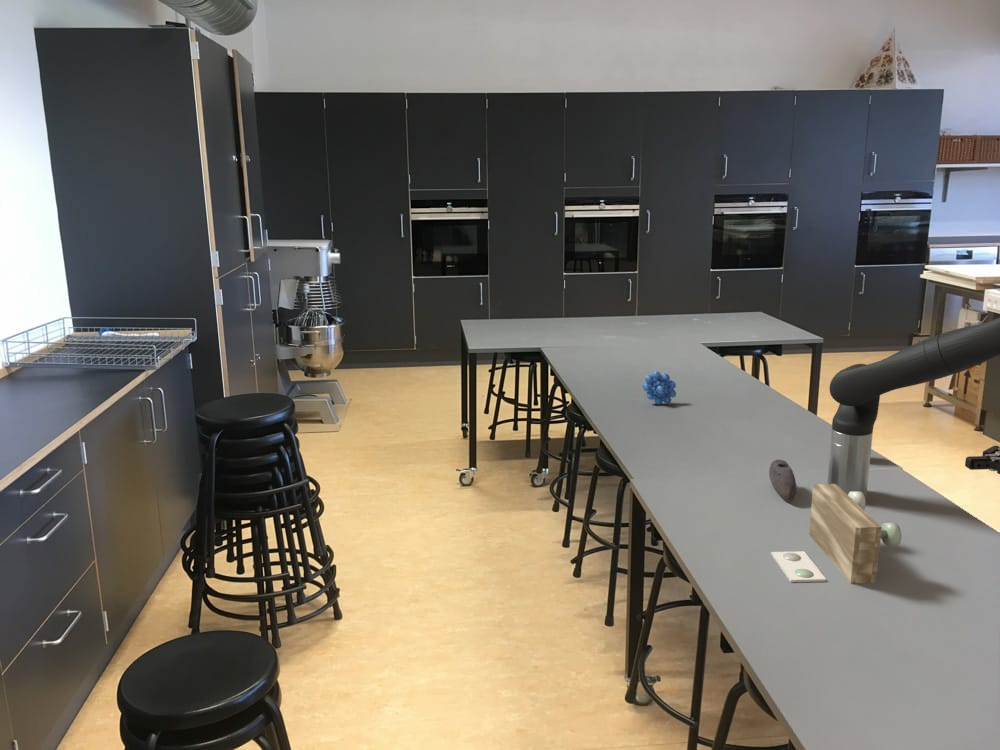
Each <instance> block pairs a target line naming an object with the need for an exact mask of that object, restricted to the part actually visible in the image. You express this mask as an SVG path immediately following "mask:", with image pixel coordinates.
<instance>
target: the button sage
mask: <svg viewBox="0 0 1000 750" xmlns="http://www.w3.org/2000/svg"><path fill="white" fill-rule="evenodd" d="M880 526H881V527H882V528H881V538H880V539H881V540H882V542H883V544H884V545H885V546H899V545H900V544H901V542H902V532H901V531H902V530H901V528H900V526H899V524H898V523H897V522H884V523H882V524H881V525H880Z"/></svg>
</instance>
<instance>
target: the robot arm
mask: <svg viewBox="0 0 1000 750" xmlns="http://www.w3.org/2000/svg"><path fill="white" fill-rule="evenodd" d="M999 356H1000V316H999V317H998V318H995V319H992V320H990V321H987V322H984V323H983V322H982V323H980V324H979V323H978V324H975V325H970V326H969V325H968V326H964V327H960V328H956V329H952V330H949V331H946V332H942V333H939V334H937V335H934V336H932V337H929V338H925V339H923V340H921V341H918V342H916V343H914V344H912V345H910V346H907V347H905V348H903V349H901V350H899V351H898V352H896V353H894V354H892V355H890V356H888V357H885V358H883V359H881V360H878V361H876V362H872V363H868V364H866V363H855V364H852V365H850V366H847V367H845V368H843V369H841V370H840V371H838V372H837V373H836V374H835V375H833V378H831V380H830V384H829V394H830V396H831V397H832V399H833V400H834V401H835V402H837V404H839V405H838V408H837V410H836V412H835V413H834V416H833V417H832V423H831V432H830V433H831V434H830V447H829V458H828V470H827V471H828V472H827V480H826V481H827V482H826V484H837V485H838V486H839V487H840V488H841V489H842V490H843V491H844V492H845V493H846V494H847V495H848V494H849V492H854V491H861V492H862V493H863V494H864V497H865V500H867V495H868V485H869V476H870V465H871V464H870V463H871V456H872V455H871V454H872V446H873V444H872V442H873V432H874V426H875V422H876V421H877V419H878V418H877V417H878V413H879V405H880V399H881V396H882V395H884V394H886V393H889V392H891V391H895V390H899V389H902V388H903V389H904V388H907V387H908V388H909V387H912V386H917V385H921V384H924V383H929V382H932V381H936V380H939V379H942V378H947V377H949V376H953V375H955V374H956V375H957V374H959V373H961V372H963V371H967V370H969V369H973V368H974V367H977V366H979V365H981V364H984V363H986V362H988V361H990V360H992V359H994V358H996V357H999ZM964 467H966V469H969V470H971V471H973V470H974V471H975V470H989V471H990V472H996V473H997V474H998V475H1000V446H999V445H993V446H990V447H989V448H987V449H985V450H983V451H982V455H979V456H977V455H976V456H975V455H973V456H971V455H970V456H966V458H965V462H964Z"/></svg>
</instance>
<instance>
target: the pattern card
mask: <svg viewBox="0 0 1000 750" xmlns="http://www.w3.org/2000/svg"><path fill="white" fill-rule="evenodd" d="M770 555H771V556H772V557H773V560H774V561H775V562H776V563H777V565H778V566H779V568H780V570H782V572H783V573H784V575H785V576H786V577H787V580H789V582H790V583H810V582H811V583H813V582H815V583H816V582H819V583H820V582H821V583H822V582H827V578H826V577H825V576H824V574H822V571H820V570H819V568H818V567H817V565H816V564H815V563H814V562H813V561H812V559H811V558H810V557H809V556H808V554H807V553H806V552H805V551H803V550H801V551H800V550H799V551H771V552H770Z"/></svg>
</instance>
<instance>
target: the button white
mask: <svg viewBox="0 0 1000 750" xmlns="http://www.w3.org/2000/svg"><path fill="white" fill-rule="evenodd" d="M848 496H849V497H850V498H851V499H852V500H853V501H854V502H856V503H857V504H858V505H859V506H860V507H861V508H862V509H863V510H864V511H866V499H865V497H864V494H863V493H862V492H861V491H854V492H849V494H848Z"/></svg>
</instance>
